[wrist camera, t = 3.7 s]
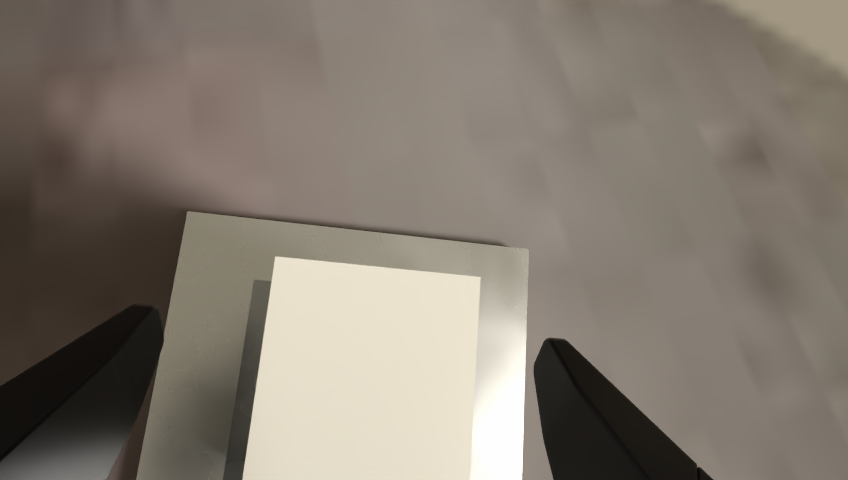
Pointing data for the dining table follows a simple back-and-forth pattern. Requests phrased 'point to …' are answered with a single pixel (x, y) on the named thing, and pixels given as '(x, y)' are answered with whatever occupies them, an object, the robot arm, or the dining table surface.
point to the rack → (245, 323)
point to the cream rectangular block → (365, 374)
